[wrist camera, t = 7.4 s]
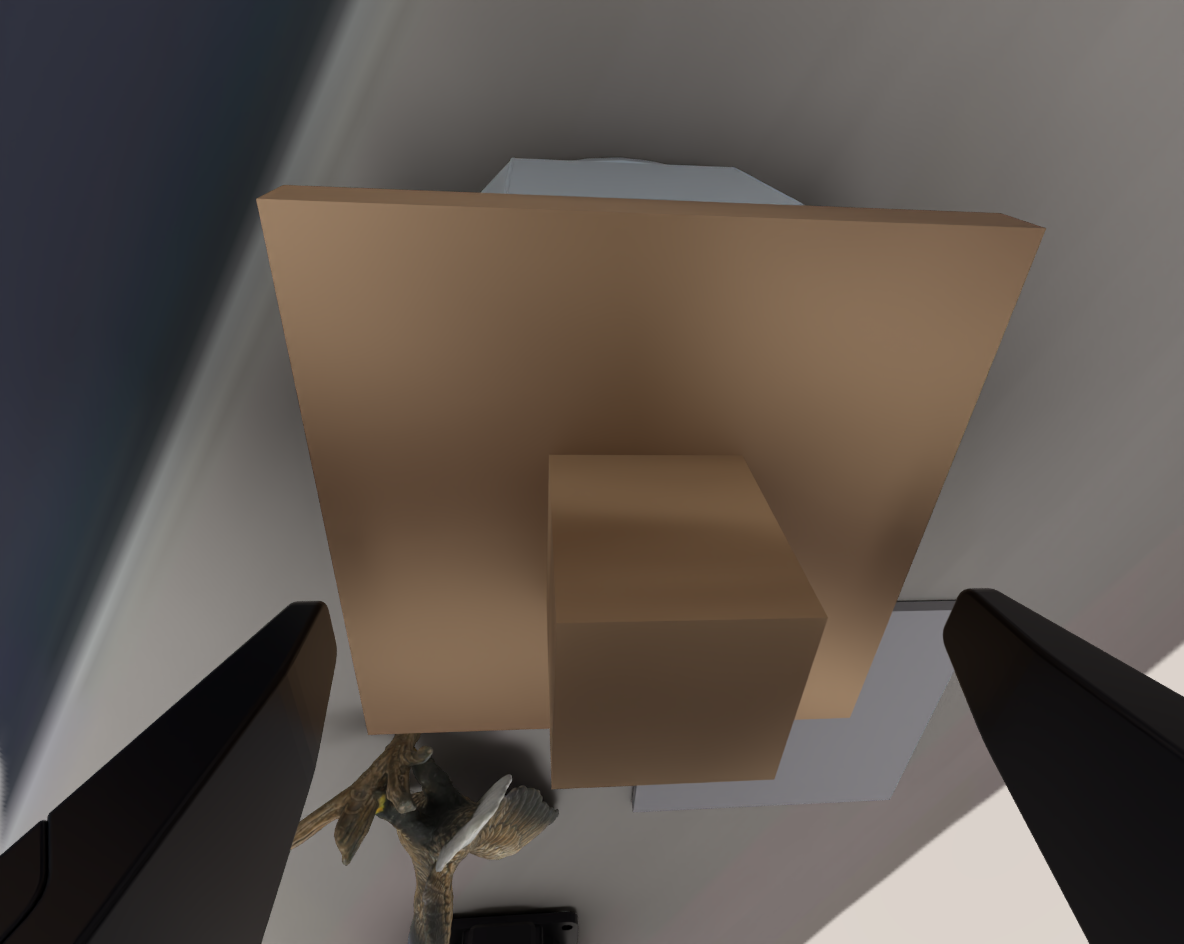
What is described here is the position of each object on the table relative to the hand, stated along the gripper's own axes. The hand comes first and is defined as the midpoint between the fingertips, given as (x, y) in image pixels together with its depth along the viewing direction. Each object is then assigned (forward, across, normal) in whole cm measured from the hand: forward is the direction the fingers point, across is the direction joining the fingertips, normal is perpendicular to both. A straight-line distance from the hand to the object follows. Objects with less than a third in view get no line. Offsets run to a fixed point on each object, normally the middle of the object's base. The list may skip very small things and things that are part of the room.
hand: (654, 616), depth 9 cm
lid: (+3, 0, 0) cm, 3 cm away
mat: (+7, -7, +12) cm, 16 cm away
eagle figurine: (+8, +5, +15) cm, 17 cm away
